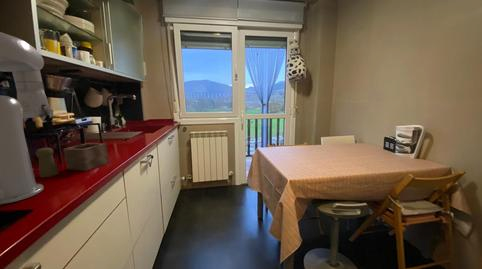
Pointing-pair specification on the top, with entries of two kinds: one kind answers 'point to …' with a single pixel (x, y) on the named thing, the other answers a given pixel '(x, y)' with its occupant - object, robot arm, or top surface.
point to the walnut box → (86, 156)
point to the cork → (46, 162)
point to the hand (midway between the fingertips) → (40, 131)
